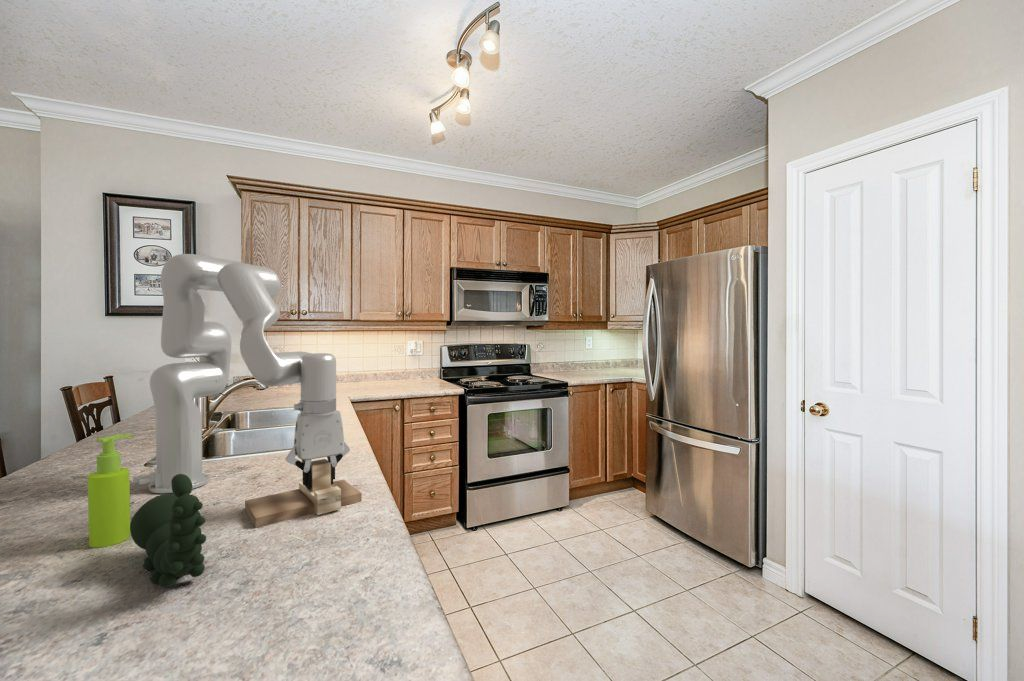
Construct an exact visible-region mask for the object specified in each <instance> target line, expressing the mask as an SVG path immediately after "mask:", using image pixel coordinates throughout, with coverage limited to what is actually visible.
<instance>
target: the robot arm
mask: <svg viewBox="0 0 1024 681" xmlns="http://www.w3.org/2000/svg"><path fill="white" fill-rule="evenodd" d="M160 285H161V292H162V297H163V298H162V299H163V309H162V310H163V311H162V320H161V321H162V322H161V333H160V347H161V350H162V352H163V354H165V355H166V356H167V357H170V358H173V359H191V358H192V359H193V358H199V361H188V362H186V361H185V362H174V363H169V364H164V365H161V366H159V367H157V368H156V369H155V370H154V371H152V373H151V375H150V376H149V377H150V378H149V387H150V388H149V389H150V392H151V396H152V400H153V403H154V404H153V406H154V412H155V416H154V417H155V455H156V456H155V459H156V460H155V462H156V464H155V465H156V468H154V471H152V472H149V473H148V474H144V475H143V474H141V475H134V476H132V485H138V484H139V486H142V485H147V484H149V485H148V491H149V492H151V493H153V494H174V493H173V491H172V484H171V480H172V478H173V477H174V476H175V475H178V474H184V475H187V476H188V477H189V478H190V480H191V482H192V486H193V487H192V490H194V489H196V488H197V489H198V488H199V487H202V486H204V485H206V484H207V483H209V481H210V479H211V477H210V474H208V473H206V472H205V473H204V472H203V421H202V420H203V419H202V418H203V416H202V412H201V410H200V408H199V407H198V405H197V403H195V401H194V400H193V399H196V398H202V397H208V396H209V397H210V396H214V395H218V394H220V393H222V392H223V391H224V390H225V389H226V387H227V385H228V381H229V378H230V366H231V365H230V364H231V355H232V354H231V353H232V337H231V334H230V332H229V330H228V328H227V327H226V326H225V325H224V324H222V323H220V322H217V321H216V322H215V321H205V312H206V305H205V303H204V302H205V301H203V298H202V296H201V294H200V293H199V292H198V290H205V291H212V292H213V291H214V292H222V293H223V294H224V295H225V297H226V299H227V301H228V302H229V304H230V305H231V308H232V309H233V311H234V313H235V314H236V315H237V318H238V320H239V321H240V323H241V324H242V330H241V332H240V338H239V352H240V356H241V358H242V360H243V362H244V364H245V365H246V367H247V369H248V370H249V372H250V374H251V375H252V376H253V378H254V379H255V380H256V381H257V382H258V383H259V384H261V385H263V386H265V387H270V388H273V387H280V386H287V385H293V384H294V385H295V384H300V399H299V403H293V410H294V411H299V412H300V413H297V417H296V422H295V429H294V438H293V446H292V448H291V450H290V451H289V452H288V454H287V456H286V458H285V461H286V462H287V463H289V464H291V465H293V466H296V467H297V468H299V469H300V470H301V471H302V481H303V485H305V487H306V488H307V489H308V490H309V489H311V488H312V472H311V471H310V464H311V461H312V460H317V459H320V458H326V460H328V461H329V462H330V463H331V485H332V484H333V482H334V480H335V479H336V467H337V466H338V463H339V462H340V461H341V460H342V458H343V457H345V456H346V455H347V454H348V453H349V452H350V451H351V449H350V447H349V446H348V444H347V443H346V442H345V437H344V436H345V435H344V426H343V420H342V414H341V411H340V410H337V359H336V356H335V355H334V354H332V353H327V352H326V353H322V352H321V353H320V352H319V353H317V352H316V353H311V352H307V351H283V352H274V351H273V349H272V348H271V347H270V345H269V343H268V341H267V339H266V336H265V330H267V328H269V327H272V326H273V325H275V323H276V322H277V321H278V320H279V318H280V316H281V311H280V309H279V307H278V306H277V304H276V303H275V301H274V300H273V299H274V298H276V297H277V296H278V295H279V294H280V291H281V287H282V285H281V280H280V278H279V275H277V273H276V272H275V271H274V270H273V269H271V268H269V267H268V266H261V265H255V264H250V263H247V262H246V263H244V262H240V261H236V260H231V259H225V258H219V257H213V256H209V255H208V256H207V255H204V254H196V253H195V254H193V253H180V254H176V255H173V256H171V257H170V258H168V259H167V260H166V262H165V263H164V264H163V266H162V269H161V273H160ZM296 457H297V458H299V459H297V458H296Z"/></svg>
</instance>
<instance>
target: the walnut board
mask: <svg viewBox="0 0 1024 681" xmlns="http://www.w3.org/2000/svg"><path fill="white" fill-rule="evenodd" d="M336 486H338V487H339V488H340V489H341V507H345V506H348V504H349V505H352V503H353V504H356V503H360V502H363V501H362V498H363V497H362V495H363V494H362V492H361V491H360V490H358V489H357V488H356V487H354V486H353V485H352V484H351V483H349V482H347V481H346V480H345V479H339V480H335V481H334V480H333V484H332V485H331V487H336ZM244 511H245V512H246V514H247V515H248V517H249V519H250V521H251V522H252V524H253V526H254V527H255V529H257V528H261V527H265V526H268V525H272V524H277V523H281V522H284V521H289V520H292V519H296V518H301V517H305V516H309V515H313V514H316V513H315V512H314V503H313V502H312V501H311V500H310V499H309V498H308V497H307V496H306V495H305V494H304V493H303V492H302V491H301V490H300V489H299V488H298V489H294V490H288V491H284V492H278V493H275V494H274V493H273V494H270V495H264V496H260V497H254V498H251V499H245V500H244Z"/></svg>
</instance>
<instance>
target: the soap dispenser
mask: <svg viewBox="0 0 1024 681" xmlns="http://www.w3.org/2000/svg"><path fill="white" fill-rule="evenodd" d="M135 435H136V434H131V433H116V434H111V435H106V436H102V437H99V438H96V443H101V444H102V452H101V453H100V454H98V455H96V471H94V472H92V473H90V474H88V475H87V499H88V500H87V503H88V504H87V507H88V516H87V517H88V545H89V546H88V547H90V548H94V549H96V548H98V549H99V548H107V547H110V546H114V545H118V544H120V543H122V542H125V541H127V540H128V539H129V538H131V533H130V523H131V496H130V495H131V489H130V481H131V480H130V468H127V467H122V464H121V463H122V461H121V460H122V458H121V452H120V451H117V450H115V448H116V447H115V446H116V445H115V440H121V439H126V438H134V437H135Z"/></svg>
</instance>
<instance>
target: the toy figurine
mask: <svg viewBox="0 0 1024 681" xmlns="http://www.w3.org/2000/svg"><path fill="white" fill-rule="evenodd" d="M171 484H172V491H173V493H163V494H160V495H156V496H154V497H152V498H151V499H149V500H148V501H146V502H145V503H143V504H142V505H141V506H140V507H139V508H138V509H137V510H136V512H135V513H134V515H133V516H132V519H130V537H131V539H132V541H133V543H134V544H135V545H136V546H138V547H139V548H141V549H142V550H144V551H145V555H146V557H145V558H144V560H143V563H142V568H143V569H144V570H145V571H146V572H152V573H151V574H150V578H149V581H150V582H151V583H152V584H156V585H157V584H158V585H159V586H161V587H164V588H168V587H171V586H172V585H173V584H174V583H175V582H176V579H177V578H179V577H183V576H185V575H188V574H189V575H190V576H191V578H198V577H200V576H201V575H202V574H204V571H205V569H206V566H205V564H204V562H205V555H204V554H202V551H203V549H202V548H203V547H202V544H204V543H205V542H206V541H207V536H206V534H204V533H202V529H201V527H202V526H203V525H204V524H205V522H206V518H205V516H203V515H202V514H201V512H200V510H201V509H202V508H203V507H204V506H203V505H204V503H203V502H201V501H200V499H199V498H198V497H197V496H196V495H193V494H192V491H193V489H192V487H193V486H192V482H191V480H190V478H189V477H188V476H187V475H184V474H178V475H175V476H174V477H173V478H172V480H171Z"/></svg>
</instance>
